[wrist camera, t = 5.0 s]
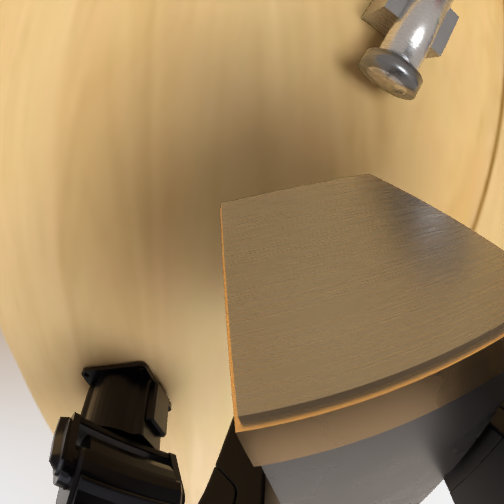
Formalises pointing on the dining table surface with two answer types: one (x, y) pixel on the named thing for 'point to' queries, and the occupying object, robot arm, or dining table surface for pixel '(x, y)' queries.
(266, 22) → the dining table surface
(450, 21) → the rod
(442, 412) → the block
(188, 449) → the dining table surface
